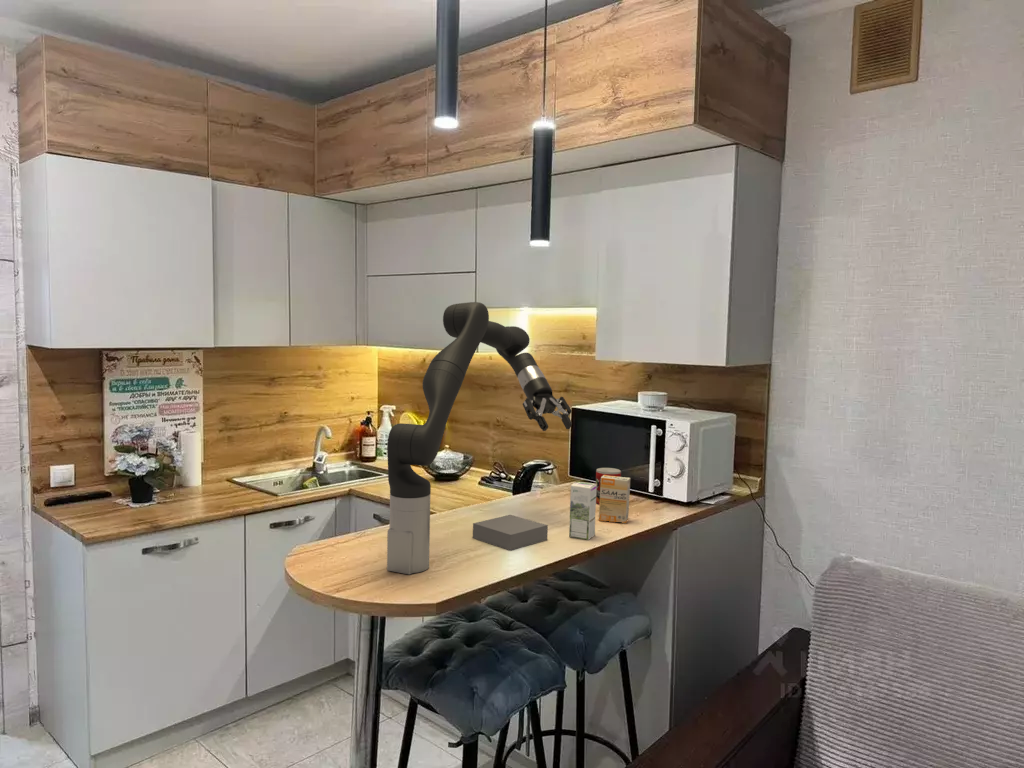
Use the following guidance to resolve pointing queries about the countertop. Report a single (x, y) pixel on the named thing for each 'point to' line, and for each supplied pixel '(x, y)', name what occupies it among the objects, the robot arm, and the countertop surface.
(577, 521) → the syrup box
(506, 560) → the countertop surface
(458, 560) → the countertop surface
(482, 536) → the plate
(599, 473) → the canned food
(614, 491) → the supplement box
